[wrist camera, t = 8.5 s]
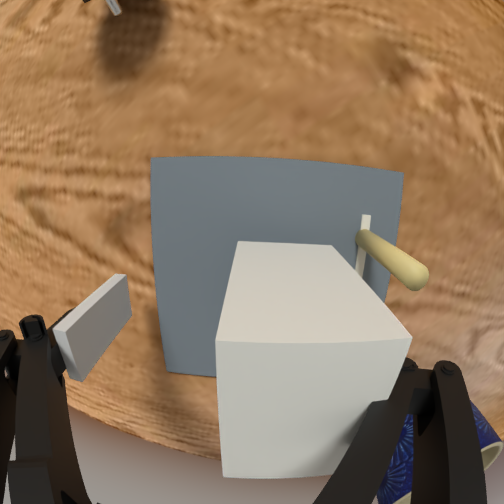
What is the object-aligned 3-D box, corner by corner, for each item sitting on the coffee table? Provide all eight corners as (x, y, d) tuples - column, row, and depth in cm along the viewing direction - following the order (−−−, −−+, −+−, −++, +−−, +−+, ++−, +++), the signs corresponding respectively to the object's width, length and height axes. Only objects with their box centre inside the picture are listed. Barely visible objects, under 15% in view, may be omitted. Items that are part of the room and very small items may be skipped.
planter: (420, 440, 25) (447, 501, 14) (338, 448, 24) (356, 528, 14) (474, 367, 21) (523, 430, 11) (393, 367, 21) (444, 462, 10)
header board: (168, 368, 21) (140, 436, 14) (153, 158, 16) (89, 154, 9) (362, 373, 21) (390, 438, 14) (400, 172, 16) (473, 180, 9)
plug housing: (235, 350, 17) (223, 477, 8) (237, 241, 15) (215, 340, 6) (315, 352, 17) (349, 471, 8) (332, 245, 15) (414, 337, 6)
